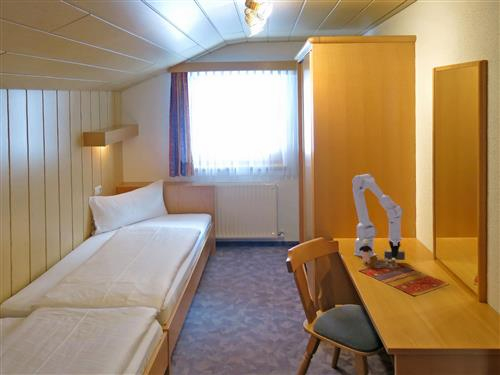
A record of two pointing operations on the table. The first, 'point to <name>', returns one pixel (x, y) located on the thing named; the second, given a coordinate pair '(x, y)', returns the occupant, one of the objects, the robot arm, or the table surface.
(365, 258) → the grandmother figurine
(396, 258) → the bar
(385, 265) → the stand
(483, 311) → the table surface
